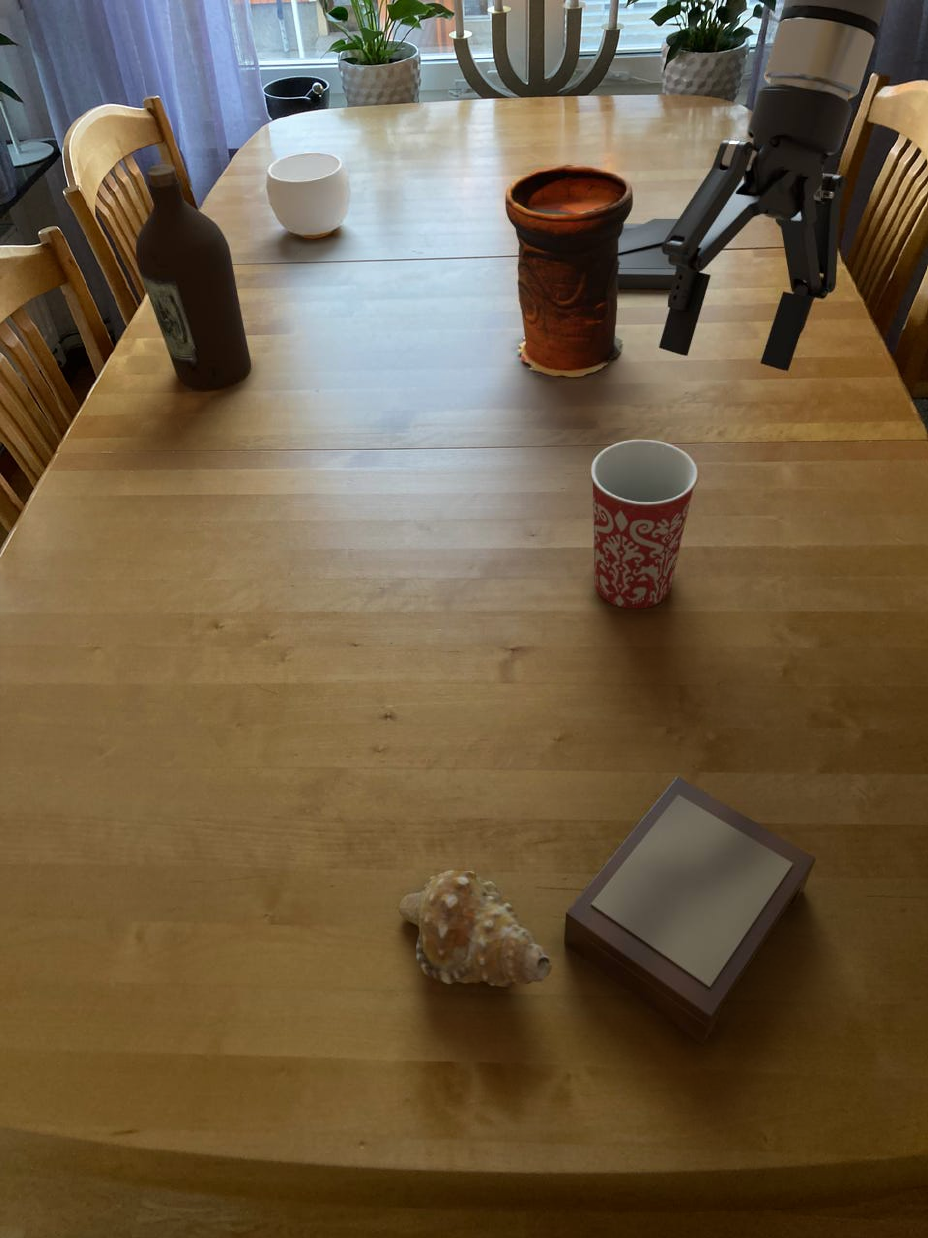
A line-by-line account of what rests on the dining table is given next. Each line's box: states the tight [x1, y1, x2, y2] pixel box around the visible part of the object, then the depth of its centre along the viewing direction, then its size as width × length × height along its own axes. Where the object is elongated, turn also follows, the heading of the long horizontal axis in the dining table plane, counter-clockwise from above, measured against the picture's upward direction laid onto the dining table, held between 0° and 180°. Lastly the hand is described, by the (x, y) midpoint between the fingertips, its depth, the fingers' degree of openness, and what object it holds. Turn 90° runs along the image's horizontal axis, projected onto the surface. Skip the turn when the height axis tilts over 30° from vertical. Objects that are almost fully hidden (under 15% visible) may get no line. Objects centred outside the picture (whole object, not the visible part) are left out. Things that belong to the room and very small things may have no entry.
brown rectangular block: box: [563, 775, 816, 1045], centre depth 67 cm, size 11×14×5 cm
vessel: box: [504, 164, 634, 378], centre depth 115 cm, size 14×14×20 cm
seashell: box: [398, 869, 553, 988], centre depth 66 cm, size 9×8×10 cm
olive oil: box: [135, 163, 252, 392], centre depth 114 cm, size 11×11×25 cm
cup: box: [265, 151, 352, 240], centre depth 147 cm, size 12×12×10 cm
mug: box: [590, 439, 699, 610], centre depth 88 cm, size 13×9×14 cm
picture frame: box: [618, 218, 685, 290], centre depth 137 cm, size 16×3×21 cm
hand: (725, 360), depth 85 cm, fingers open, 13 cm apart
